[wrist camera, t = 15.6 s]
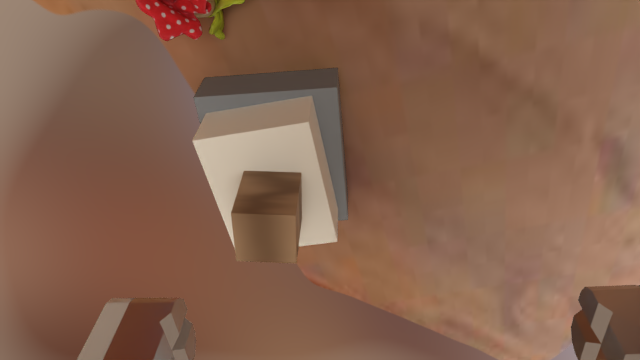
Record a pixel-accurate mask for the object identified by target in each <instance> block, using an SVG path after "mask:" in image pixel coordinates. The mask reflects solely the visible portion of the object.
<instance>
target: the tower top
mask: <svg viewBox="0 0 640 360" xmlns="http://www.w3.org/2000/svg"><path fill="white" fill-rule="evenodd" d="M193 144H194V146H195V149H196V151H197V154H198V156H199V159H200V161H201V164H202V167H203V169H204V172H205V174H206V177H207V179H208V182H209V184H210V187H211V190H212V192H213V195H214V197H215V200H216V202H217V205H218V207H219V210H220V212H221V215H222V217H223V220H224V222H225V225H226V228H227V230H228V233H229V235H230V238H231V240H232V243H233V246H234V237H233V228H232V219H231V211H232V208H233V205H234V201H235V198H236V195H237V192H238V188H239V185H240V182H241V179H242V175H243V172H244V171H270V172H300V173H301V179H302V222H301V230H300V238H299V246H307V245H315V244H323V243H331V242H337V238H338V207H337V203H336V198H335V194H334V189H333V185H332V181H331V176H330V172H329V168H328V163H327V159H326V154H325V150H324V146H323V141H322V137H321V133H320V128H319V124H318V120H317V115H316V111H315V106H314V102H313V98H312V96H306V97H300V98H294V99H288V100H282V101H277V102H271V103H265V104H259V105H253V106H247V107H241V108H235V109H229V110H223V111H217V112H211V113H206V114H205V116H204V118H203V120H202V122H201V124H200V126H199V128H198V130H197V132H196V134H195V136H194V138H193ZM234 248H235V246H234Z"/></svg>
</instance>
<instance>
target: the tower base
mask: <svg viewBox="0 0 640 360" xmlns="http://www.w3.org/2000/svg"><path fill="white" fill-rule="evenodd" d="M306 96H312V98H313V102H314V106H315V111H316V115H317V120H318V124H319V128H320V133H321V137H322V141H323V146H324V150H325V154H326V159H327V163H328V168H329V172H330V176H331V181H332V185H333V189H334V194H335V198H336V203H337V207H338V220H348V191H347V178H346V166H345V153H344V140H343V128H342V115H341V103H340V90H339V77H338V68H328V69H315V70H301V71H287V72H274V73H260V74H247V75H233V76H220V77H206V78H204V80H203V82H202V83H201V85H200V87H199V89H198V90H197V92H196V94H195V96H194V97H193V98H194V101H195V105H196V109H197V113H198V117H199V121H200V124H201V122H202V120H203V118H204V116H205V114H206V113H211V112H217V111H223V110H229V109H235V108H241V107H247V106H253V105H259V104H265V103H271V102H277V101H282V100H288V99H294V98H300V97H306Z"/></svg>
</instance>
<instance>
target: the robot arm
mask: <svg viewBox="0 0 640 360" xmlns="http://www.w3.org/2000/svg"><path fill="white" fill-rule="evenodd" d="M578 301H579V303H580V305H581V307H582V310H580V311H579V312H578V313H576V314H575V315H574V317H573V321H572V326H571V335H572V343H573V347H574V351H575V353H576V356H577V358H578V360H640V285H638V286H637V285H622V286H595V287H584V289H583V290H582V291H581V293H580V296H579V299H578ZM186 312H187V307H186V305H185V302H184V300H183V299H181V298H112V299H111V300H110V301H109V302H107V303H106V305H105V307H104V309H103V310H102V312H101V315H100V316H99V318H98V320H97V322H96V324H95V326H94V328H93V330H92V331H91V333H90V335H89V337H88V339H87V341H86V343H85V345H84V347H83V349H82V351H81V353H80V355H79V357H78V358H77V360H194V357H195V348H196V337H195V330H194V327H193V324H192V323H191V322H189V321H188V320H187V319H185V315H186Z"/></svg>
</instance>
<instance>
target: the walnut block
mask: <svg viewBox="0 0 640 360" xmlns="http://www.w3.org/2000/svg"><path fill="white" fill-rule="evenodd" d="M231 219H232V228H233V237H234V246H235V254H236V261H250V262H276V263H297V255H298V247H299V238H300V230H301V222H302V179H301V173H300V172H270V171H244V172H243V175H242V179H241V182H240V185H239V188H238V192H237V195H236V198H235V201H234V205H233V208H232V211H231Z"/></svg>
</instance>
